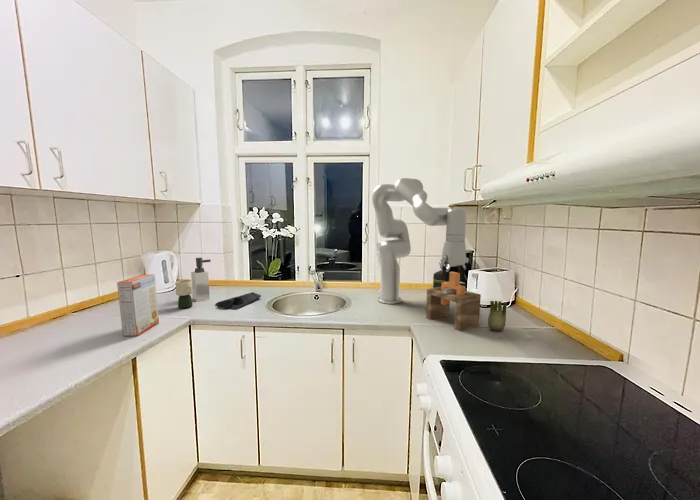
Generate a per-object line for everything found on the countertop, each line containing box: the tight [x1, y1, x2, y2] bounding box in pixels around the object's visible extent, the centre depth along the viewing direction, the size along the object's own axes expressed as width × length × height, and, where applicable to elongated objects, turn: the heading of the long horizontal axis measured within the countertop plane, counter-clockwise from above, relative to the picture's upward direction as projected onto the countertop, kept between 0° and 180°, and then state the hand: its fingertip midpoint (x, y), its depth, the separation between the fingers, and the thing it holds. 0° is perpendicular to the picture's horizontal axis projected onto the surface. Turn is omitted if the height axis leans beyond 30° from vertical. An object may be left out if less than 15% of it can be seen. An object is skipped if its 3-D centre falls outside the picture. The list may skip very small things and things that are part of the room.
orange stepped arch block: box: [441, 271, 467, 305], centre depth 132 cm, size 10×3×14 cm, turn 32°
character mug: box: [174, 279, 193, 309], centre depth 151 cm, size 11×7×13 cm, turn 60°
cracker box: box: [116, 273, 160, 337], centre depth 122 cm, size 14×6×21 cm, turn 1°
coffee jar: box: [432, 269, 450, 309], centre depth 149 cm, size 10×8×19 cm
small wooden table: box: [425, 287, 481, 332], centre depth 133 cm, size 18×12×15 cm, turn 32°
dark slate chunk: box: [214, 291, 262, 310], centre depth 160 cm, size 15×22×5 cm
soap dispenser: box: [190, 257, 212, 302], centre depth 165 cm, size 6×9×22 cm
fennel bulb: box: [487, 300, 508, 332], centre depth 123 cm, size 6×5×12 cm
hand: (453, 279), depth 132 cm, fingers open, 9 cm apart
